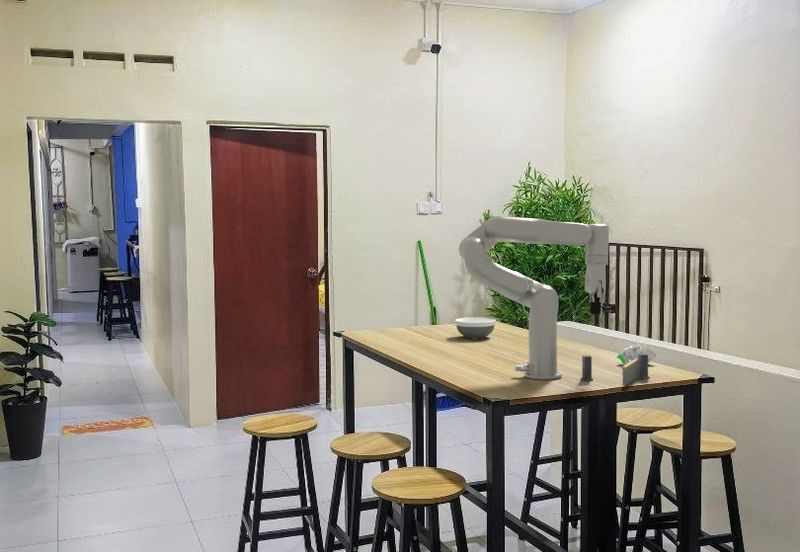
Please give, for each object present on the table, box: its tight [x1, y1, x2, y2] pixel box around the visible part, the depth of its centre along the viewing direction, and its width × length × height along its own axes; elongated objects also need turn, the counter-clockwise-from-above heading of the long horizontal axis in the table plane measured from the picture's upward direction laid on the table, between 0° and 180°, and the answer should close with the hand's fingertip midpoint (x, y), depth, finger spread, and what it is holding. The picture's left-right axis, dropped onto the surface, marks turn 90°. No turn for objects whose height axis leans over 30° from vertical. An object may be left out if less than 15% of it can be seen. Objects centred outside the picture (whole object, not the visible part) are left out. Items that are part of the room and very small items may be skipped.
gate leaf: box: [621, 359, 639, 386], centre depth 262 cm, size 16×1×6 cm, turn 149°
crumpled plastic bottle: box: [616, 340, 658, 366], centre depth 290 cm, size 12×9×10 cm
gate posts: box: [580, 354, 650, 382], centre depth 267 cm, size 23×3×8 cm, turn 96°
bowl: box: [454, 316, 497, 339], centre depth 363 cm, size 19×19×8 cm
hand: (595, 313), depth 273 cm, fingers closed
